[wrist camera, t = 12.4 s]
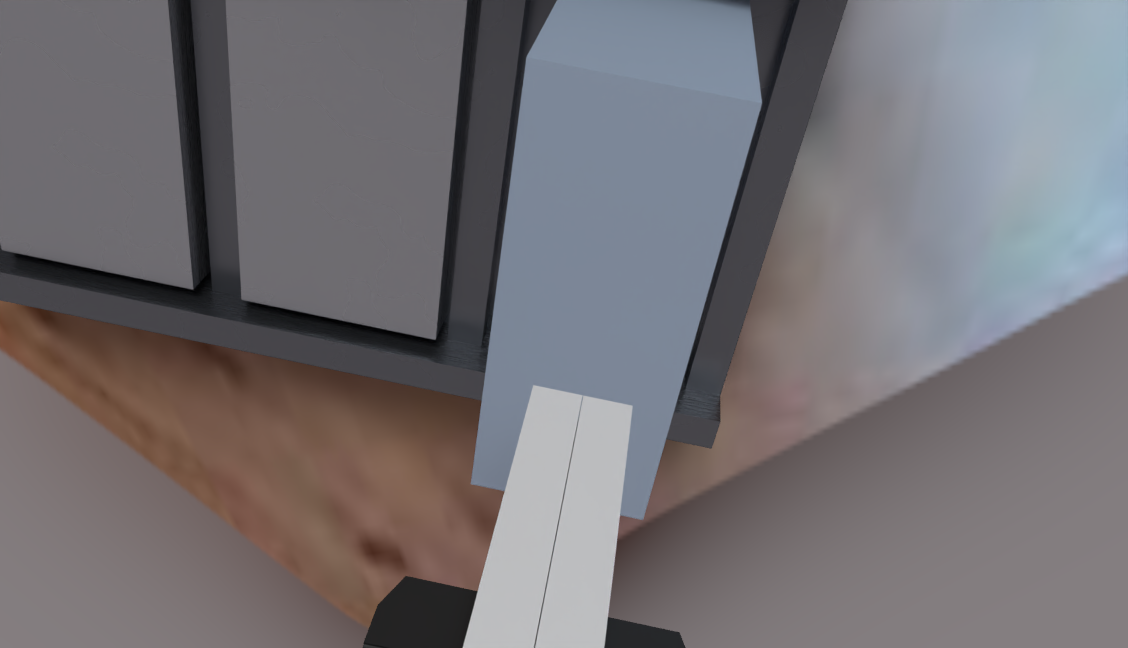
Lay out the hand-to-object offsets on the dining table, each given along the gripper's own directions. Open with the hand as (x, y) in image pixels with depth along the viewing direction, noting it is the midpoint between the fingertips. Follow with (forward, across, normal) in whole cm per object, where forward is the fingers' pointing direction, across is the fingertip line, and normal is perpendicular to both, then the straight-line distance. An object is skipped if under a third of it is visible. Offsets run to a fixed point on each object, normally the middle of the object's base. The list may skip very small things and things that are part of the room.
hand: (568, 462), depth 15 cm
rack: (+12, -7, 0) cm, 14 cm away
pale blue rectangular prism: (+11, 0, 0) cm, 11 cm away
